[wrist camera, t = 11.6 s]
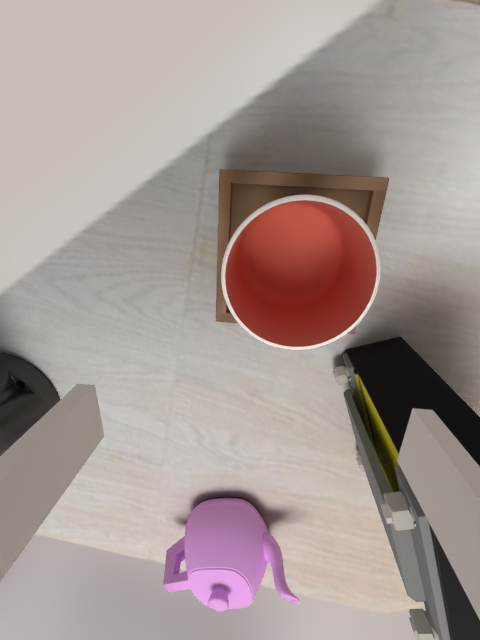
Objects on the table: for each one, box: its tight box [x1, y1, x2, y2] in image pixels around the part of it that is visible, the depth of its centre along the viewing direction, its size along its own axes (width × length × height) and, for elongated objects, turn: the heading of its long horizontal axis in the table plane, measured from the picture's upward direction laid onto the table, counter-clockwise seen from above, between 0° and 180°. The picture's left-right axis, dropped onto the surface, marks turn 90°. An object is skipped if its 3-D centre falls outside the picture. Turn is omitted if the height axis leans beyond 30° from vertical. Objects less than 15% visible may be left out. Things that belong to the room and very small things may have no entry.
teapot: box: [163, 498, 300, 611], centre depth 42 cm, size 13×20×11 cm
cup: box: [221, 195, 381, 350], centre depth 23 cm, size 10×10×10 cm
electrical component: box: [333, 337, 480, 640], centre depth 27 cm, size 18×10×20 cm, turn 19°
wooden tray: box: [216, 170, 389, 334], centre depth 29 cm, size 14×14×4 cm
